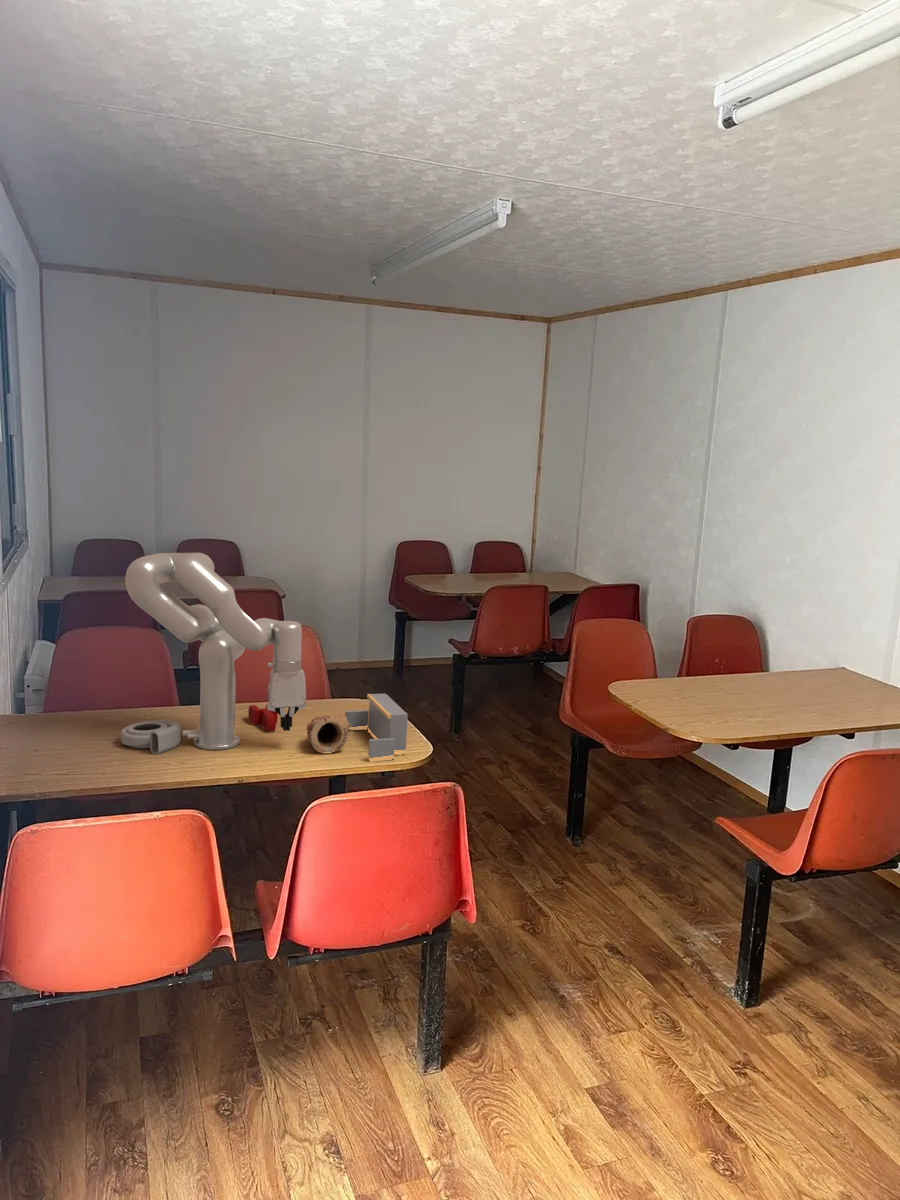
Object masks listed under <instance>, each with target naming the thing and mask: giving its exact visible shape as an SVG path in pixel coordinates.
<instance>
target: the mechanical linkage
mask: <svg viewBox="0 0 900 1200" xmlns="http://www.w3.org/2000/svg"><path fill="white" fill-rule="evenodd" d="M267 705H268V703H267V704H266V705H265V707H264V708H259V707H258V706H257V705H256V704H252V705H248V719H250V720H251V721H250V720H249V721H250V723H251V722H252V723H253V724H252V723H251V724H252V725H262V726H263V727H264V728H263V727H262V726H261V727H262V728H263V729H264V730H266V731H267V732H266V731H265V732H266V733H269V732H268V731H273V732H275V731H276V727H277V725H276V723H277V724H278V713H277V712H276V711H270V710H268V709H267Z"/></svg>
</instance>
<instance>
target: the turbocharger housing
mask: <svg viewBox="0 0 900 1200" xmlns="http://www.w3.org/2000/svg"><path fill="white" fill-rule="evenodd" d="M181 729H182V727H181V724H180V723H178V722H176V721H174V720H169V719H155V720H154V719H153V720H147V721H146V720H145V721H139V722H135V723H131V724H129V725H127V726H125V727H124V728H122V730H121V731H120V742H121V743H122V744H123V745H125V746H128V747H130V748H133V749H149V750H150V752H151V754H152V755H156V756H157V755H159V754H161V753H163V752H166V751H169V750H172V749H174V748H176V747H177V746H178V745H179V744H180V743H181V741H182V730H181Z"/></svg>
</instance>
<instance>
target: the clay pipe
mask: <svg viewBox="0 0 900 1200" xmlns="http://www.w3.org/2000/svg"><path fill="white" fill-rule="evenodd" d="M306 726H307V727H306V733H307V737H306V739H307V741H309V743H310V744H311V746H312V748H313V749H314V750H315V751H316V752H318V753H320V754H324V753H323V752H333V751H337V752H339V751H340V750H341V749H342V748H344V746H345V744H346V742H347V740H348V738H349V733H350V731H349V728H350V724H349V721H348V720H347V718H346V716H345V714H339V715H335V716H331V715H323V716H317V717H316V716H315V717H314V718H313V719H312V720H311V722H308V723H307V725H306Z"/></svg>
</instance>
